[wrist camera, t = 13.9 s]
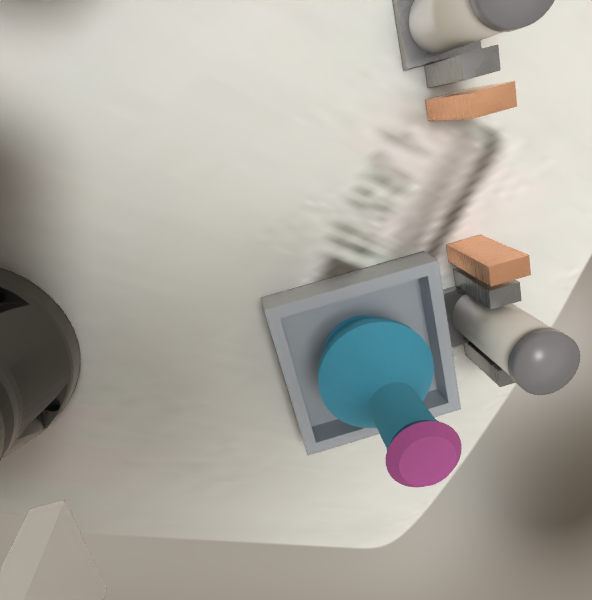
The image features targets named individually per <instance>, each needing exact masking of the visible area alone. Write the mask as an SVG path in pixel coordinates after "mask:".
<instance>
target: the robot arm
mask: <svg viewBox="0 0 592 600" xmlns="http://www.w3.org/2000/svg"><path fill="white" fill-rule="evenodd" d="M79 370H80V352H79V346H78V342H77V339H76V336H75V333H74V330H73V328H72V326H71V324H70V322H69V320H68V319H67V317H66V316H65V314H64V313H63V311H62V310H61V309H60V307H59V306H58V305H57V304H56V303H55V302H54V301H53V300H52V299H51V298H50V297H49V296H48V295H47V294H46V293H45V292H44V291H42V290H41V289H40V288H39V287H37V286H36V285H34V284H33V283H31V282H30V281H28V280H26V279H25V278H23V277H21V276H19V275H17V274H15V273H12V272H10V271H7V270H5V269H2V268H0V460H1V458H3V457H4V456H6V455H7V454H9V453H10V452H12V451H14V450H15V449H17V448H18V447H20V446H21V445H23V444H25V443H26V442H28V441H29V440H31V439H32V438H34V437H36V436H37V435H38V434H40V433H41V432H43V431H44V430H45V429H46V428H47V427H48V426H49V425H50V424H51V423H52V422H53V421H54V420H55V419H56V418H57V417H58V415H59V414H60V413H61V411H62V410H63V408H64V407H65V405H66V403H67V401H68V400H69V398H70V396H71V395H72V393H73V391H74V388H75V386H76V383H77V380H78V376H79ZM106 589H107V588H106V586H105V584H104V581H103V580H102V577H101V575H100V573H99V571H98V569H97V566H96V565H95V562H94V560H93V558H92V556H91V554H90V552H89V549H88V547H87V545H86V543H85V541H84V539H83V537H82V535H81V532H80V530H79V528H78V526H77V524H76V522H75V520H74V518H73V515H72V513H71V511H70V509H69V507H68V505H67V503H66V501H65V500H62V501H58V502H54V503H51V504H47V505H43V506H39V507H35V508H31V509H29V512H28V514H27V516H26V518H25V520H24V522H23V524H22V526H21V528H20V530H19V532H18V534H17V536H16V538H15V540H14V542H13V544H12V546H11V548H10V550H9V552H8V554H7V556H6V559H5V560H4V562H3V564H2V566H1V568H0V600H104V598H105V593H106Z"/></svg>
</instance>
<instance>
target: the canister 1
mask: <svg viewBox="0 0 592 600" xmlns="http://www.w3.org/2000/svg"><path fill="white" fill-rule="evenodd" d="M553 2H554V0H414V2H413V4H412V6H411V9H410V14H409V27H410V32H411V35H412V37H413V39H414V41H415V42H416V44H417V45H418V46H419V47H420V48H421V49H423V50H424V51H427V52H429V53H434V54H440V53H445V52H448V51H450V50H453V49H456V48H459V47H462V46H465V45H468V44H470V43H473V42H476V41H479V40H482V39H485V38H488V37H491V36H493V35H496V34H499V33H502V32H509V31H514V30H517V29H520V28H523V27H525V26H528V25H530V24H532V23H534V22H536V21H537V20H539V19H540V18H541V17H542V16H543V15H544V14H545V13H546V12H547V11H548V10H549V8H550V7H551V6H552V4H553Z"/></svg>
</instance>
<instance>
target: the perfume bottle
mask: <svg viewBox="0 0 592 600" xmlns="http://www.w3.org/2000/svg"><path fill="white" fill-rule="evenodd" d="M317 375H318V386H319V392H320V395H321V398H322V401H323V402H324V404H325V406H326V407H327V409H328V410H329V411H330V412H331V413H332V414H333V415H334V416H335V417H336V418H338V419H339V420H341V421H342V422H344V423H347V424H349V425H352V426H356V427H361V428H377V429H378V431H379V433H380V435H381V437H382V439H383V441H384V443H385V445H386V447H387V454H386V466H387V470H388V472H389V474H390V475H391V477H392V478H393V479H394V480H395V481H397V482H398V483H400V484H402V485H405V486H409V487H424V486H430V485H433V484H436V483H438V482H440V481H442V480H443V479H444V478H446V477H447V476H448V475H449V474H450V473H451V472H452V470H453V469H454V468H455V466H456V465H457V463H458V461H459V459H460V455H461V441H460V438H459V436H458V434H457V433H456V432H455V430H454V429H453V428H451V427H450V426H449V425H446V424H444V423H441V422H439V421H437V420H436V419H435V418H434V417H433V415H432V414H431V412H430V411H429V410H428V408H427V407H426V405H425V404H424V403H423V400H424V399H425V397H426V395H427V393H428V391H429V389H430V386H431V384H432V380H433V375H434V362H433V357H432V353H431V351H430V349H429V347H428V345H427V343H426V342H425V341H424V339H423V338H422V337H421V336H420V335H419V334H417V333H416V332H415V331H414V330H412V329H411V328H410V327H408V326H407V325H404V324H402V323H400V322H398V321H394V320H390V319H386V318H378V317H374V316H368V315H362V316H355V317H352V318H349V319H347V320H345V321H343V322H341V323H340V324H339V325H338V326H336V327H335V328H334V330H333V331H332V332H331V333H330V335H329V337H328V338H327V340H326V343H325V346H324V350H323V353H322V356H321V359H320V362H319V367H318V374H317Z"/></svg>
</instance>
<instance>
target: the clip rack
mask: <svg viewBox="0 0 592 600" xmlns="http://www.w3.org/2000/svg"><path fill="white" fill-rule="evenodd" d="M413 2H414V0H393V6H394V13H395V19H396V25H397V32H398V38H399V44H400V51H401V57H402V64H403V70H406V69H410V68H413V67H417V66H421V65H425V64H428V63H432V62H436V61H439V60H442V61H439V62H436V63H433V64H429V65H426V66H425V73H426V80H427V87H433V86H438V85H443V84H448V83H453V82H458V81H463V80H467V79H470V78H474V77H478V76H481V75H485V74H489V73H492V72H496V71H500V59H499V48H498V45H494V46H490V47H487V48H483V49H481V42H480V40H479V41H476V42H473V43H470V44H468V45H465V46H462V47H459V48H456V49H453V50H450V51H448V52H445V53H440V54H434V53H429V52H427V51H424V50H423V49H421V48H420V47H419V46H418V45H417V44H416V42H415V41H414V39H413V37H412V35H411V32H410V27H409V14H410V9H411V6H412V4H413ZM454 56H455V57H454ZM450 57H451V58H450ZM447 58H448V59H447ZM443 59H445V60H443ZM425 101H426V108H427V115H428V121H432V120H457V119H473V118H477V117H480V116H484V115H488V114H491V113H495V112H499V111H502V110H506V109H509V108H513V107H517V101H516V89H515V81H512V82H506V83H500V84H494V85H488V86H482V87H476V88H470V89H464V90H460V91H456V92H453V93H449V94H445V95H442V96H438V97H434V98H431V99H427V100H425ZM446 246H447V253H448V260H449V262H451V263H452V264H454V265H456V266H457V267H459V268H456V269H453V270H454V277H455V284H456V286H455V287H452V288H448V289H445V290H443V295H444V301H445V308H446V315H447V321H448V328H449V334H450V341H451V347H455V346H458V345H461V344H464V348H465V354H466V355H467V356H468V357H469V358H470V359H471V360H472V361H473V362H474V363H475V364H476V365H477V366H478V367H479V368H480V369H481V370H482V371H484V372H485V373H486V374H487V375H488V376H489V377H490V378H491V379H492V380H493V381H494V382H495V383H496V384H497V385H498V386H499V387H502V386H505V385H509V384H512V383H515V381H514V380H513V379H512V378H511V376H510V375H509V374H507V373H506V372H505V371H504V370H503V369H502V368H501V367H499V366H498V365H497V364H496V363H495V362H494V361H493V360H491V359H490V358H489V357H488V356H487V355H486V354H485V353H483V352H482V351H481V350H480V349H479V348H478V347H476V346H475V345H474V344H473V343H472V342H471V341H470V340H468V339H467V338H466V337H465V336H464V335H463V334H462V333H460V332H459V331H458V330H457V329H456V327H455V325H454V323H453V310H454V307H455V305H456V303H457V301H458V300H459V299H460V298H461V297H462V296H463V295H464V294H466V293H468V294H469V295H471V296H472V297H474V298H475V299H476V300H478V301H479V302H481V303H482V304H484V305H485V306H487V307H488V308H490V309H494V308H498V307H501V306H505V305H508V304H511V303H515V302H518V301H521V291H520V282H518V281H516V280H515V279H518V278H522V277H525V276H529V275H531V273H530V261H529V255H527V254H525V253H523V252H520V251H518V250H515V249H513V248H511V247H508V246H506V245H503V244H501V243H499V242H496V241H494V240H492V239H489V238H487V237H484V236H482V235H478V236H474V237H471V238H468V239H464V240H461V241H457V242H454V243H450V244H447V245H446Z"/></svg>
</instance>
